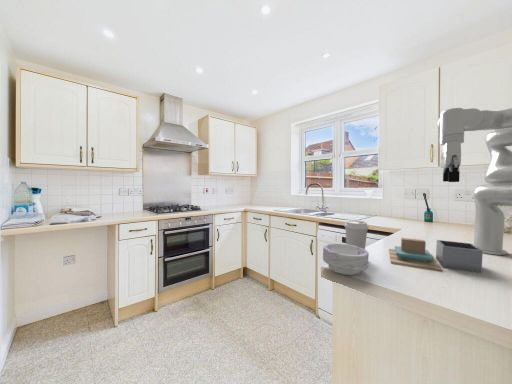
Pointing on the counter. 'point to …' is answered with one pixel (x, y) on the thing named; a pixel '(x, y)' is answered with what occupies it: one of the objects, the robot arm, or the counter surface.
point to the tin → (459, 256)
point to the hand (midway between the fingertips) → (450, 181)
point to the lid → (413, 250)
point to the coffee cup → (356, 233)
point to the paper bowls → (345, 258)
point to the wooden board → (413, 262)
